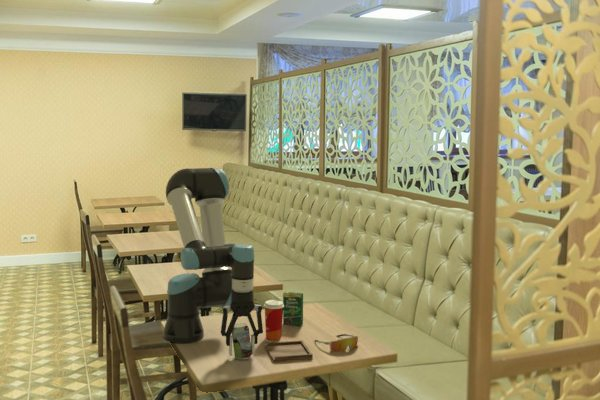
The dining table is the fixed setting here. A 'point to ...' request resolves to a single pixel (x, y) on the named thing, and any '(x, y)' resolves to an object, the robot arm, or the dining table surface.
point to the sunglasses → (342, 343)
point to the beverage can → (241, 341)
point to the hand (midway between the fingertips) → (241, 353)
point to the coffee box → (293, 308)
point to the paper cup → (273, 319)
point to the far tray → (288, 351)
